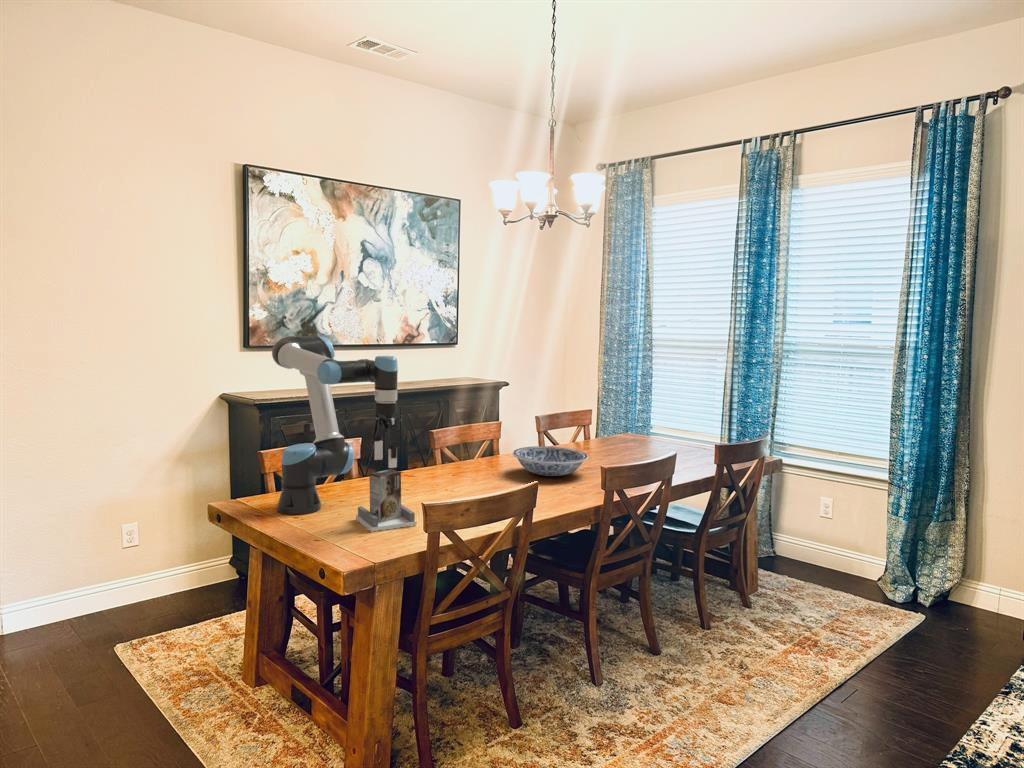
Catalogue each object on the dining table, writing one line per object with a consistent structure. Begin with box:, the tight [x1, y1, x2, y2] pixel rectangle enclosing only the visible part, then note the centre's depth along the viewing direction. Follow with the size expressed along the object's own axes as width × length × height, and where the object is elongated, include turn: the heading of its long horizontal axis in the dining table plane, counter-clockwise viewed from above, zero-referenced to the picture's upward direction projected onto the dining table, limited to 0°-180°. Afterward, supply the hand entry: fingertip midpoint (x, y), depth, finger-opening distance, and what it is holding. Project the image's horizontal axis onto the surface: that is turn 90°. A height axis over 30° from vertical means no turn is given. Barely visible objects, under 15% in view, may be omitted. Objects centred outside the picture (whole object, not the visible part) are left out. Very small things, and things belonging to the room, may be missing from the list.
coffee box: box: [368, 468, 402, 522], centre depth 242 cm, size 9×6×16 cm
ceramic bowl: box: [512, 445, 589, 477], centre depth 321 cm, size 34×34×10 cm
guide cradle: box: [355, 504, 417, 533], centre depth 243 cm, size 16×16×4 cm
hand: (385, 463), depth 241 cm, fingers open, 13 cm apart
